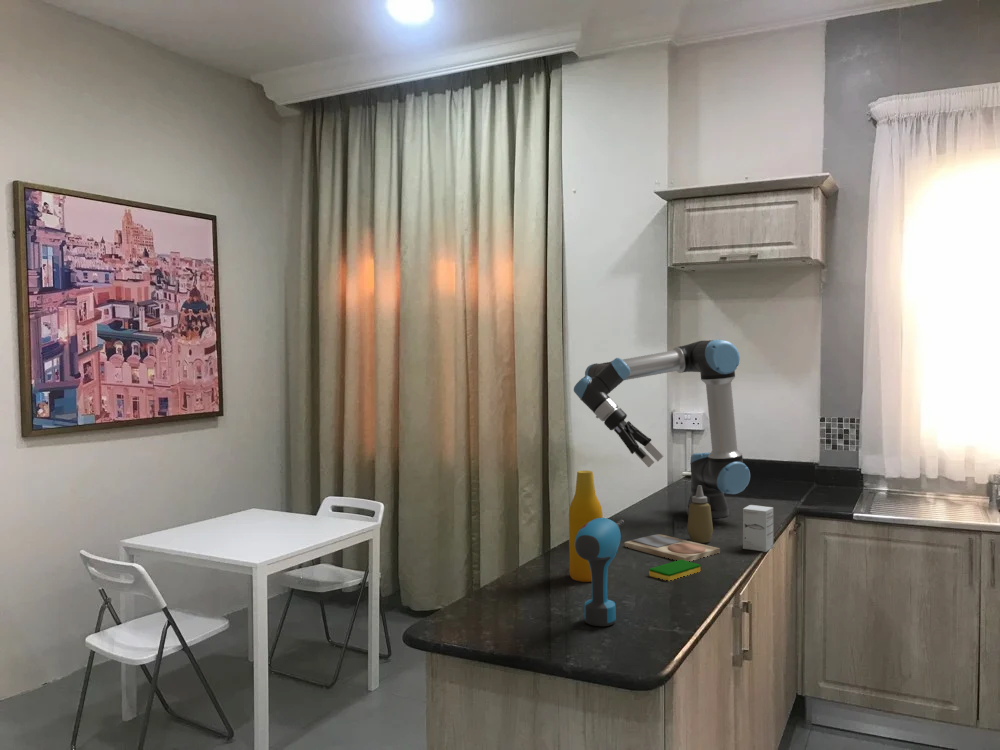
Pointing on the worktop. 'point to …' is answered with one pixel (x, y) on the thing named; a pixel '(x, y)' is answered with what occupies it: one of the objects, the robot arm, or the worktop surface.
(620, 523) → the power drill
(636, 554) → the worktop surface
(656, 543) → the board
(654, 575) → the dish sponge
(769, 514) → the supplement box
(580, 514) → the beer bottle
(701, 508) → the squeeze bottle
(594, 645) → the worktop surface
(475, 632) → the worktop surface
